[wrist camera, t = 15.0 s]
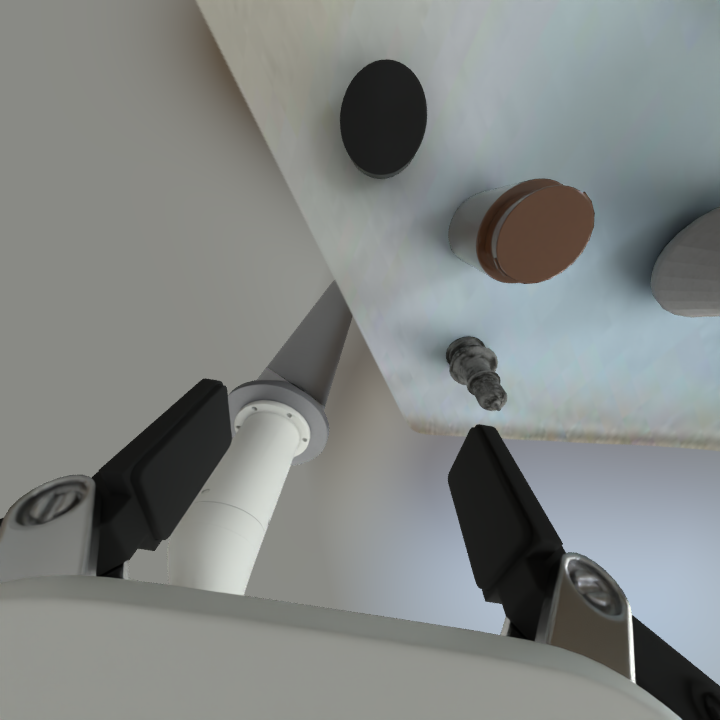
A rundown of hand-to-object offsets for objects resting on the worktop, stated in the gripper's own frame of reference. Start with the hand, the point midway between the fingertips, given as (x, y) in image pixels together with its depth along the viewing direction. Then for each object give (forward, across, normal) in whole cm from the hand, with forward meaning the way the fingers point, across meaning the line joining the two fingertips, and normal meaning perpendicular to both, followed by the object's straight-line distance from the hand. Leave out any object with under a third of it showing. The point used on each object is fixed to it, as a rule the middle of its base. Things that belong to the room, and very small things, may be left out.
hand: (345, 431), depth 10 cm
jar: (+25, -11, -9) cm, 29 cm away
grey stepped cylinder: (+26, -15, +6) cm, 31 cm away
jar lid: (+23, +1, -15) cm, 27 cm away
